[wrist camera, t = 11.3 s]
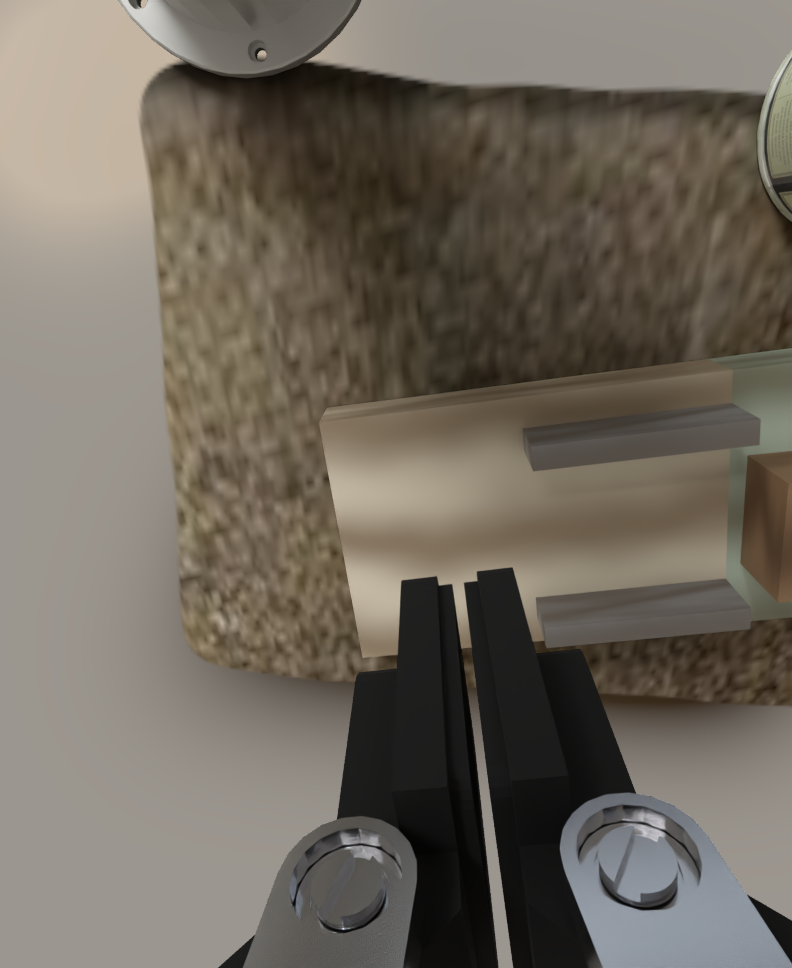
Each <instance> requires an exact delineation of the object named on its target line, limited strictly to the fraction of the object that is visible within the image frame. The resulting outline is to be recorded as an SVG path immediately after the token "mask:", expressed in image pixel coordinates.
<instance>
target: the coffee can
mask: <svg viewBox="0 0 792 968" xmlns="http://www.w3.org/2000/svg"><path fill="white" fill-rule="evenodd" d="M757 145H758V148H757V154H758V162H759V169H760V173H761V177H762V180H763V183H764V186H765V188H766V190H767V192H768V194H769V196H770V198H771V199H772V201H773V203H774V204H775V205H776V207H777V208H778V209H779V211H780V213H782V214H783V215H784V216H785V217H786V218H788V219H789V220H790V221H791V222H792V49H791V51H790V52H789V53H788V55H787V56H786V58H785V59H784V60H783V62H782V63H781V65H780V67H779V68H778V70H777V72H776V74H775V76H774V78H773V80H772V82H771V84H770V86H769V89H768V91H767V94H766V97H765V100H764V103H763V106H762V110H761V114H760V121H759V126H758V131H757Z"/></svg>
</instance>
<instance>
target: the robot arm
mask: <svg viewBox="0 0 792 968" xmlns="http://www.w3.org/2000/svg"><path fill="white" fill-rule="evenodd" d="M118 1H119V2H120V4H121V5H122V6H123V8H124V9H125V11H126V12H127V13H128V15H129V16H130V17H131V19H132V20H133V21H134V22H135V23H136V24H137V25H138V26H139V27H140V28H141V29H142V30H143V31H144V32H145V33H146V34H147V35H148V36H149V37H150V38H151V39H152V40H154V41H155V42H156V43H158V44H159V45H160V46H162V47H163V48H164V49H166V50H167V51H168V52H170V53H171V54H173V55H174V56H176V57H178V58H180V59H181V60H183V61H185V62H187V63H189V64H190V65H192V66H194V67H196V68H199V69H202V70H205V71H208V72H211V73H214V74H217V75H220V76H229V77H238V78H254V77H263V76H271V75H275V74H278V73H281V72H283V71H286V70H289V69H292V68H295V67H297V66H299V65H301V64H302V63H304V62H305V61H307V60H309V59H310V58H312V57H313V56H315V55H317V54H318V53H320V52H321V51H322V50H323V49H324V48H325V47H326V46H327V45H328V44H329V43H330V42H331V41H332V40H333V39H335V38H336V37H337V36H338V35H339V34H340V33H341V31H342V30H343V29H344V27H345V26H346V24H347V23H348V21H349V20H350V19H351V17H352V16H353V14H354V13H355V12H356V10H357V9H358V7H359V5H360V2H361V0H147V1H148V2H147V4H146V6H145V7H144V8H141V0H118ZM261 50H265V51H266V53H267V57H266V59H265V60H264V61H262V62H261V61H258V59H257V54H258V52H259V51H261ZM464 589H465V597H466V606H467V614H468V622H469V630H470V638H471V646H472V654H473V662H474V670H475V678H476V686H477V694H478V702H479V710H480V718H481V727H482V735H483V742H484V751H485V759H486V767H487V775H488V783H489V790H490V798H491V804H492V812H493V820H494V827H495V835H496V843H497V849H498V857H499V865H500V872H501V879H502V887H503V894H504V902H505V909H506V916H507V924H508V932H509V939H510V947H511V954H512V962H513V968H792V921H791V920H790V919H788V918H786V917H785V916H783V915H781V914H779V913H778V912H776V911H774V910H772V909H771V908H769V907H767V906H766V905H764V904H762V903H761V902H759V901H757V900H755V899H754V898H752V897H750V896H749V895H747V894H746V893H745V892H744V890H743V889H742V887H741V886H740V884H739V883H738V881H737V879H736V878H735V876H734V875H733V873H732V872H731V870H730V869H729V867H728V866H727V864H726V863H725V861H724V859H723V858H722V856H721V855H720V853H719V852H718V850H717V849H716V847H715V846H714V844H713V843H712V841H711V840H710V838H709V837H708V836H707V834H706V833H705V832H704V831H703V830H702V829H701V828H700V827H699V825H698V824H697V823H696V822H695V821H694V820H693V819H692V818H691V817H689V816H688V815H686V814H685V813H684V812H682V811H681V810H679V809H678V808H676V807H675V806H674V805H671V804H669V803H666V802H664V801H661V800H659V799H656V798H654V797H651V796H646V795H640V794H636V792H635V790H634V787H633V784H632V781H631V779H630V776H629V773H628V771H627V768H626V765H625V763H624V760H623V758H622V755H621V752H620V749H619V747H618V744H617V742H616V739H615V737H614V734H613V731H612V728H611V726H610V723H609V720H608V718H607V715H606V712H605V710H604V707H603V705H602V702H601V699H600V696H599V694H598V691H597V688H596V686H595V683H594V680H593V678H592V675H591V672H590V670H589V667H588V664H587V662H586V659H585V657H584V655H583V652H582V651H581V650H580V649H574V650H565V651H555V652H546V653H537V654H536V652H535V648H534V644H533V641H532V637H531V633H530V629H529V626H528V622H527V618H526V615H525V611H524V607H523V603H522V600H521V596H520V592H519V588H518V585H517V581H516V577H515V574H514V570H513V567H509V568H501V569H493V570H484V571H477V581H473V582H464ZM219 968H498V959H497V950H496V940H495V931H494V922H493V912H492V903H491V893H490V884H489V875H488V866H487V856H486V846H485V838H484V828H483V819H482V809H481V800H480V790H479V781H478V771H477V762H476V753H475V744H474V736H473V728H472V720H471V713H470V706H469V699H468V692H467V685H466V678H465V671H464V663H463V656H462V649H461V642H460V635H459V628H458V621H457V614H456V606H455V599H454V592H453V586H452V584H447V585H439V583H438V578H437V576H434V577H425V578H417V579H408V580H402V581H401V594H400V616H399V638H398V659H397V669H388V670H379V671H369V672H360V673H358V675H357V677H356V682H355V688H354V696H353V704H352V711H351V718H350V726H349V734H348V741H347V749H346V756H345V763H344V771H343V779H342V786H341V793H340V801H339V808H338V816H337V820H335V821H332V822H329V823H326V824H324V825H321V826H320V827H318V828H317V829H315V830H314V831H312V832H311V833H309V834H308V835H306V836H305V837H303V838H302V839H301V840H300V841H299V843H298V844H297V845H296V846H295V847H294V848H293V849H292V850H291V851H290V852H289V854H288V855H287V857H286V859H285V861H284V862H283V864H282V866H281V868H280V870H279V872H278V874H277V877H276V879H275V882H274V885H273V888H272V890H271V893H270V896H269V898H268V901H267V904H266V907H265V909H264V912H263V915H262V918H261V920H260V923H259V926H258V929H257V931H256V934H255V935H254V936H253V937H252V938H251V939H250V940H249V941H248V942H246V943H245V944H244V945H243V946H242V947H241V948H240V949H239V950H238V951H236V952H235V953H234V954H233V955H232V956H231V957H230V958H229V959H227V960H226V961H225V962H224V963H223V964H222V965H221V966H220V967H219Z"/></svg>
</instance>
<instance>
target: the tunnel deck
mask: <svg viewBox="0 0 792 968" xmlns="http://www.w3.org/2000/svg"><path fill="white" fill-rule="evenodd" d="M319 426H320V432H321V437H322V442H323V448H324V453H325V458H326V464H327V469H328V475H329V480H330V485H331V491H332V496H333V501H334V507H335V512H336V517H337V523H338V528H339V534H340V539H341V544H342V550H343V555H344V560H345V566H346V571H347V576H348V582H349V587H350V593H351V598H352V603H353V609H354V614H355V619H356V625H357V630H358V635H359V641H360V646H361V652H362V657H363V658H366V657H377V656H387V655H398V638H399V616H400V594H401V581H402V580H408V579H417V578H425V577H434V576H437V578H438V583H439V585H447V584H452V586H453V592H454V599H455V606H456V614H457V621H458V628H459V635H460V642H461V649H462V648H472V646H471V638H470V630H469V622H468V614H467V606H466V597H465V589H464V582H473V581H477V571H484V570H493V569H501V568H509V567H513V570H514V574H515V577H516V581H517V585H518V588H519V592H520V596H521V600H522V603H523V607H524V611H525V615H526V618H527V622H528V626H529V629H530V633H531V637H532V641H533V642H536V641H544V642H545V645H546V648H554V647H565V646H576V645H587V644H597V643H608V642H619V641H630V640H640V639H651V638H662V637H672V636H683V635H694V634H705V633H715V632H726V631H737V630H748V629H750V627H751V621H759V620H770V619H780V618H791V617H792V602H781V603H778V602H777V601H776V600H775V599H774V598H773V597H772V596H771V595H770V594H769V593H768V592H767V591H766V590H765V589H764V588H763V587H762V586H761V585H760V584H759V582H758V581H757V580H756V579H755V578H754V577H753V576H752V575H751V574H750V573H749V572H748V571H747V570H746V569H745V568H744V567H743V566H742V565H741V564H740V560H741V545H742V530H743V516H744V501H745V486H746V471H747V456H748V455H755V454H766V453H776V452H787V451H792V348H789V349H781V350H773V351H765V352H758V353H750V354H742V355H734V356H727V357H719V358H711V359H703V360H695V361H688V362H680V363H672V364H664V365H656V366H649V367H641V368H633V369H625V370H618V371H610V372H602V373H594V374H586V375H579V376H571V377H563V378H555V379H547V380H540V381H532V382H524V383H516V384H509V385H501V386H493V387H485V388H477V389H470V390H462V391H454V392H446V393H439V394H431V395H423V396H415V397H407V398H400V399H392V400H384V401H376V402H368V403H361V404H353V405H345V406H337V407H330V408H327V409H326V411H325V412H324V414H323V416H322V418H321V420H320V421H319Z"/></svg>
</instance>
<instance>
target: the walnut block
mask: <svg viewBox="0 0 792 968" xmlns="http://www.w3.org/2000/svg"><path fill="white" fill-rule="evenodd" d="M740 564H741V565H742V566H743V567H744V568H745V569H746V570H747V571H748V572H749V573H750V574H751V575H752V576H753V577H754V578H755V579H756V580H757V581H758V582H759V584H760V585H761V586H762V587H763V588H764V589H765V590H766V591H767V592H768V593H769V594H770V595H771V596H772V597H773V598H774V599H775V600H776V601H777V602H778V603H781V602H792V451H787V452H776V453H766V454H755V455H748V456H747V471H746V486H745V501H744V516H743V530H742V545H741V560H740Z"/></svg>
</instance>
